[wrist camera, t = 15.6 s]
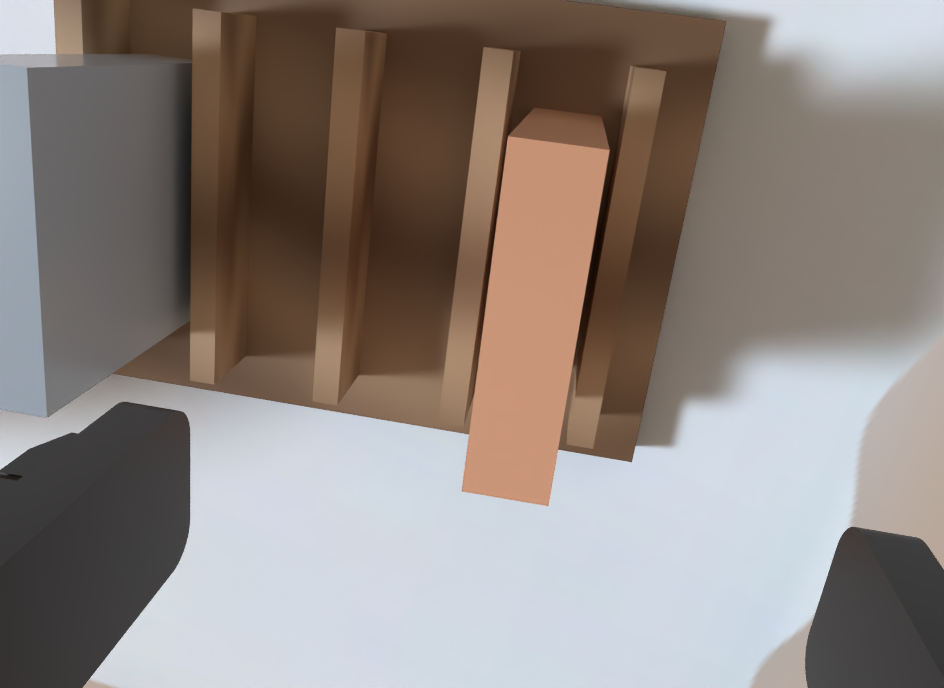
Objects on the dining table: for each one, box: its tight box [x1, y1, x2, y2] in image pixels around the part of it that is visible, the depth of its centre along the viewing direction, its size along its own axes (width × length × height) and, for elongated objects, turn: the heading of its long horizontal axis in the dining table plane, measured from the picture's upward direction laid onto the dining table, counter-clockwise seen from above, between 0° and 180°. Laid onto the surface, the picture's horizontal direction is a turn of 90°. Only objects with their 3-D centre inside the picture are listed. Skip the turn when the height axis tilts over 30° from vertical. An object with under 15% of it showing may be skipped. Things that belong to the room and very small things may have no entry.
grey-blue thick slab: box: [0, 54, 192, 418], centre depth 23 cm, size 8×2×9 cm, turn 173°
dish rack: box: [54, 0, 726, 462], centre depth 26 cm, size 14×20×4 cm
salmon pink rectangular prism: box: [462, 108, 610, 506], centre depth 22 cm, size 8×2×9 cm, turn 173°
